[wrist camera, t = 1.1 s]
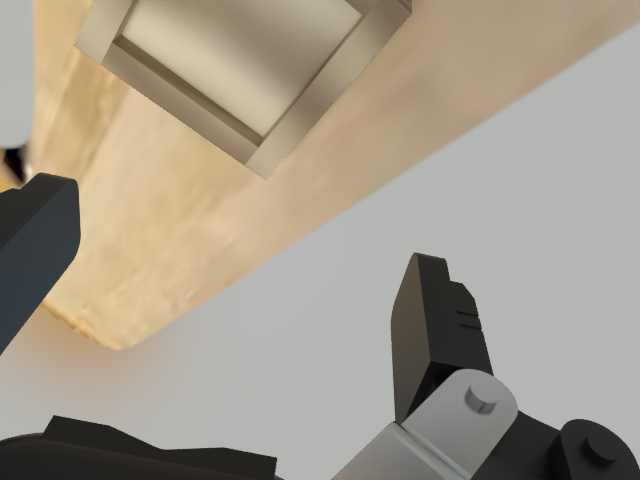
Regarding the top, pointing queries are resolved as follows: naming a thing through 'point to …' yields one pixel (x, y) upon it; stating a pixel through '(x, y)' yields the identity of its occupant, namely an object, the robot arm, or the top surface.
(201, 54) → the square tray
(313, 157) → the top surface
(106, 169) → the top surface
